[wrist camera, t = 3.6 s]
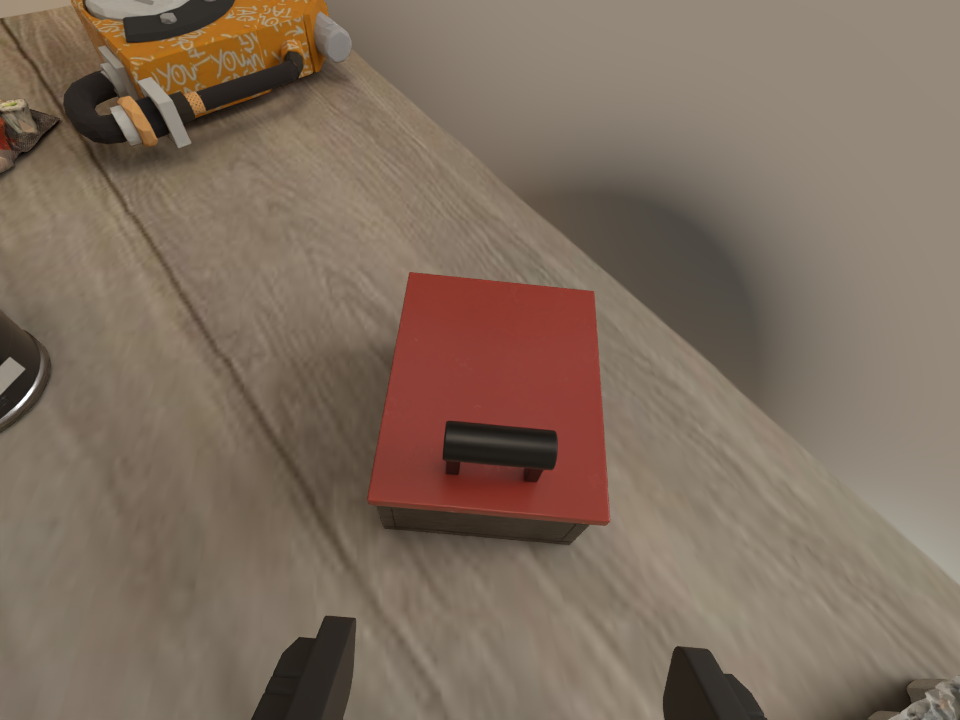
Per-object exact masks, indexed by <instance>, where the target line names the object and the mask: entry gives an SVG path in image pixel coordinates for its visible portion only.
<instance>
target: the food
mask: <svg viewBox="0 0 960 720" xmlns="http://www.w3.org/2000/svg"><path fill="white" fill-rule="evenodd" d="M59 119H60V118H57V117H55V116H52V115H48V114H45V113H41V112H38V111H35V110H32V109H29V107H28V103H27V102H26V101H25V99H17V100H9V101H8V100H7V101H5V102H4V101H2V100H1V99H0V173H1V172H4V171H5V170H8V169H10V167H15V166H14V160H15V159H16V158H17V157H18V154H20V153H21V152H22V151H23V152H27V151H29V150H31V149H32V148H33V147H34V145H35V144H36V143H37V141H38V140H39V139H40V137H41V136H42V135H43V134H44V133H45V132H46V131H47V130H48V129H50V128H51V127H52V126H53V125H54V124H55V123H56V122H57V121H58V120H59Z"/></svg>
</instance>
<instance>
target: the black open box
mask: <svg viewBox="0 0 960 720" xmlns="http://www.w3.org/2000/svg"><path fill="white" fill-rule="evenodd" d="M377 508H378V511H379V514H380V517H381V521H382V524H383V527H384V528H385V529H396V530H408V531H419V532H431V533H442V534H453V535H465V536H476V537H488V538H499V539H510V540H522V541H533V542H545V543H556V544H568V545H570V544H571V543H572V542H573V541H574V540H575V539H576V538H577V537H578V536H579V535H580V534H581V533H582V532H583V531H584V530H585V529H586V528H587V527H588V526H589V525H590V524H579V523H568V522H557V521H546V520H535V519H523V518H512V517H501V516H490V515H478V514H467V513H456V512H445V511H433V510H422V509H411V508H400V507H388V506H377Z"/></svg>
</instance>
